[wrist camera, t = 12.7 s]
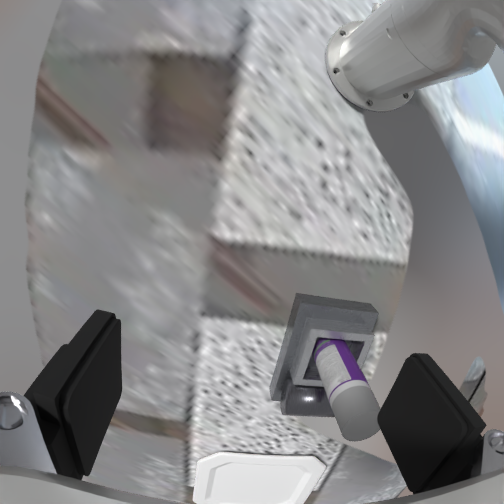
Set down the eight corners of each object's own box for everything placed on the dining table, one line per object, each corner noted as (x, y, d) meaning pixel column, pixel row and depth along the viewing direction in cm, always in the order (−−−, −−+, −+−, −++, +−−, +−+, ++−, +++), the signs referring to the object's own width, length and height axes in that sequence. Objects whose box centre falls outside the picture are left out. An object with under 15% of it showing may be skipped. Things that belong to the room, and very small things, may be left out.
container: (351, 347, 41) (393, 422, 27) (324, 367, 42) (354, 447, 27) (333, 326, 40) (373, 403, 26) (304, 347, 41) (331, 430, 26)
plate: (296, 506, 59) (297, 513, 56) (192, 501, 56) (191, 508, 54) (331, 449, 52) (333, 457, 50) (199, 442, 50) (198, 450, 48)
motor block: (296, 293, 42) (308, 322, 34) (370, 303, 43) (394, 331, 35) (269, 387, 46) (274, 424, 38) (336, 392, 47) (349, 426, 39)
